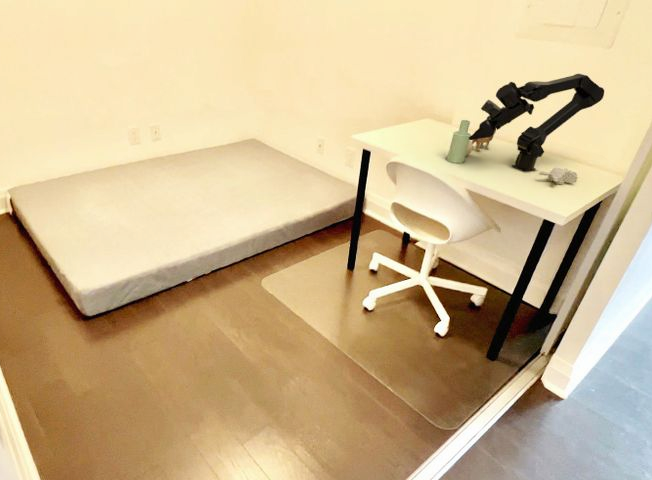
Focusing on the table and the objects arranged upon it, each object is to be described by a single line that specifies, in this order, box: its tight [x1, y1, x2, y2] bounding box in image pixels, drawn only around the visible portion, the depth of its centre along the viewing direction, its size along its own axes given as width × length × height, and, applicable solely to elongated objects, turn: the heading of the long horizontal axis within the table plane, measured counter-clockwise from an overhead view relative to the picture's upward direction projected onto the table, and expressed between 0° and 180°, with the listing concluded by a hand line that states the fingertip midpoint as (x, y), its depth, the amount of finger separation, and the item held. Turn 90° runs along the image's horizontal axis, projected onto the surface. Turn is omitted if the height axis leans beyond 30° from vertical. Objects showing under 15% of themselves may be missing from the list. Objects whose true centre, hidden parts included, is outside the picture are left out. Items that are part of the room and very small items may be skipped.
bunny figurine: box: [538, 166, 579, 185], centre depth 162 cm, size 10×5×15 cm
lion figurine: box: [471, 134, 495, 152], centre depth 190 cm, size 15×5×9 cm, turn 129°
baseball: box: [465, 140, 474, 157], centre depth 183 cm, size 7×7×7 cm
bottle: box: [446, 119, 472, 164], centre depth 175 cm, size 7×7×16 cm
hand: (472, 136), depth 172 cm, fingers open, 9 cm apart
